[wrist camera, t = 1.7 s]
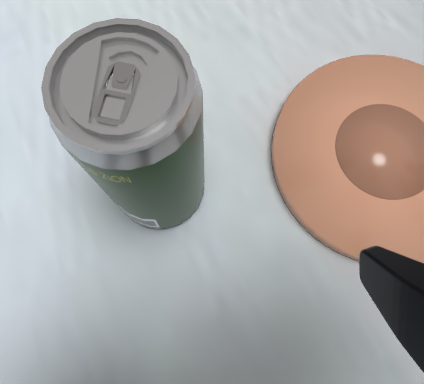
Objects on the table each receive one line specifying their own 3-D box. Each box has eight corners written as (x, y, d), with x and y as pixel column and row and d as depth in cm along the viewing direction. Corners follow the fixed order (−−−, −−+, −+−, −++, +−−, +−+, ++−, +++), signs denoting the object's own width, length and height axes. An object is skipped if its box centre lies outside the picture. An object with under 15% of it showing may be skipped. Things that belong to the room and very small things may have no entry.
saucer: (409, 316, 21) (422, 317, 20) (227, 164, 24) (228, 157, 23) (525, 150, 24) (542, 142, 23) (353, 31, 27) (360, 18, 26)
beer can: (194, 239, 23) (180, 174, 11) (109, 221, 23) (8, 139, 11) (212, 158, 24) (217, 28, 13) (132, 142, 24) (65, 0, 13)
